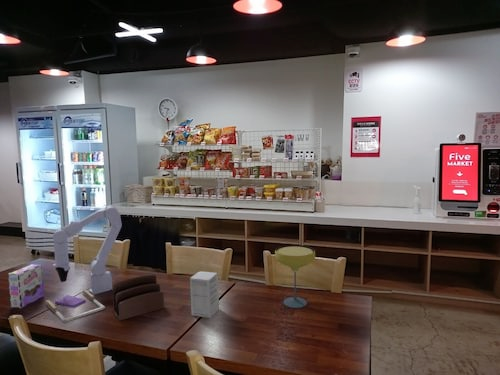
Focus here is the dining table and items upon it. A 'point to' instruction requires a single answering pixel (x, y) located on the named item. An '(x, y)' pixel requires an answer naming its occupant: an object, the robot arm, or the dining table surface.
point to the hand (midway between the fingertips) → (63, 281)
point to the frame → (82, 313)
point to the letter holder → (137, 296)
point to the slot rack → (56, 307)
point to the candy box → (25, 285)
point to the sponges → (70, 301)
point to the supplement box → (204, 294)
